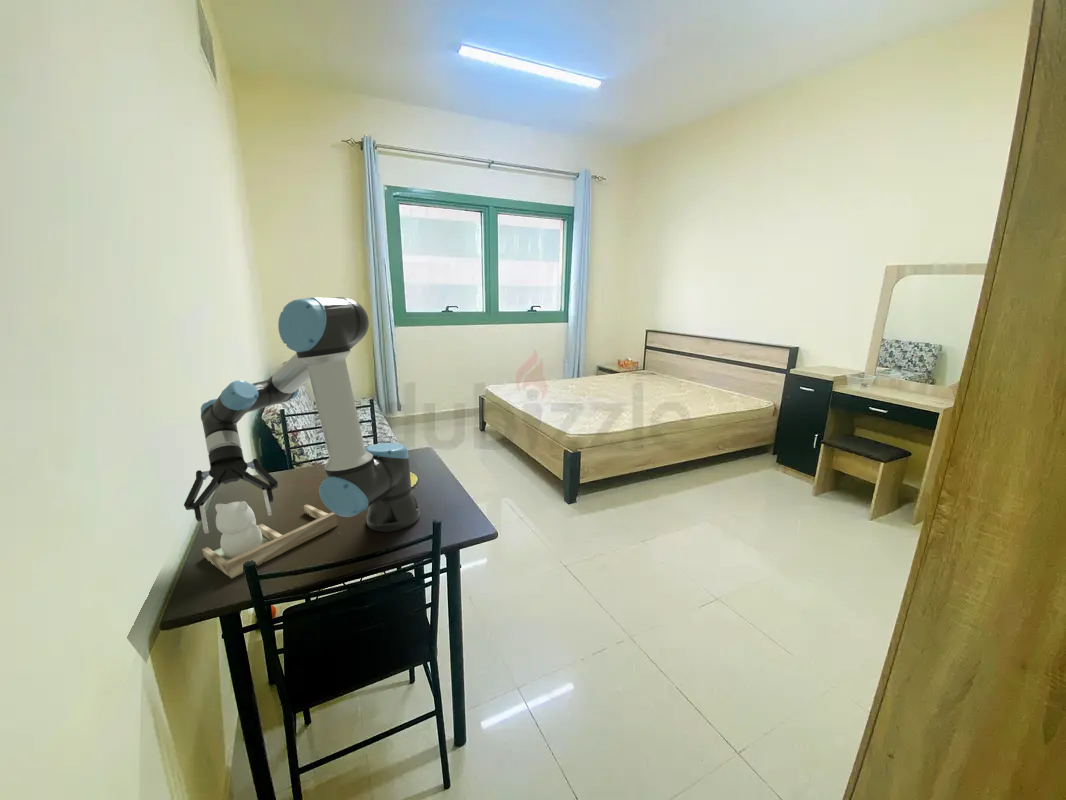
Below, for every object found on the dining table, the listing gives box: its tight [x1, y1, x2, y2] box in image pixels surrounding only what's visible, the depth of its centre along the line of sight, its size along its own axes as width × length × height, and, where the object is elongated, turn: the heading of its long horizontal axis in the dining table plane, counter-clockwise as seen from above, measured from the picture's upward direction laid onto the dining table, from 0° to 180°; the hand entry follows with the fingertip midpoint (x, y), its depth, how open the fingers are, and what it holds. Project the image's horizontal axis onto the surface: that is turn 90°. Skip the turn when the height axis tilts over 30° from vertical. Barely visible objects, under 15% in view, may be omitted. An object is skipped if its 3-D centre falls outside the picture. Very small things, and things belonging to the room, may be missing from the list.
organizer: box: [201, 503, 339, 579], centre depth 116 cm, size 16×28×4 cm, turn 147°
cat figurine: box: [214, 500, 263, 559], centre depth 110 cm, size 9×12×15 cm
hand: (239, 522), depth 108 cm, fingers open, 13 cm apart
